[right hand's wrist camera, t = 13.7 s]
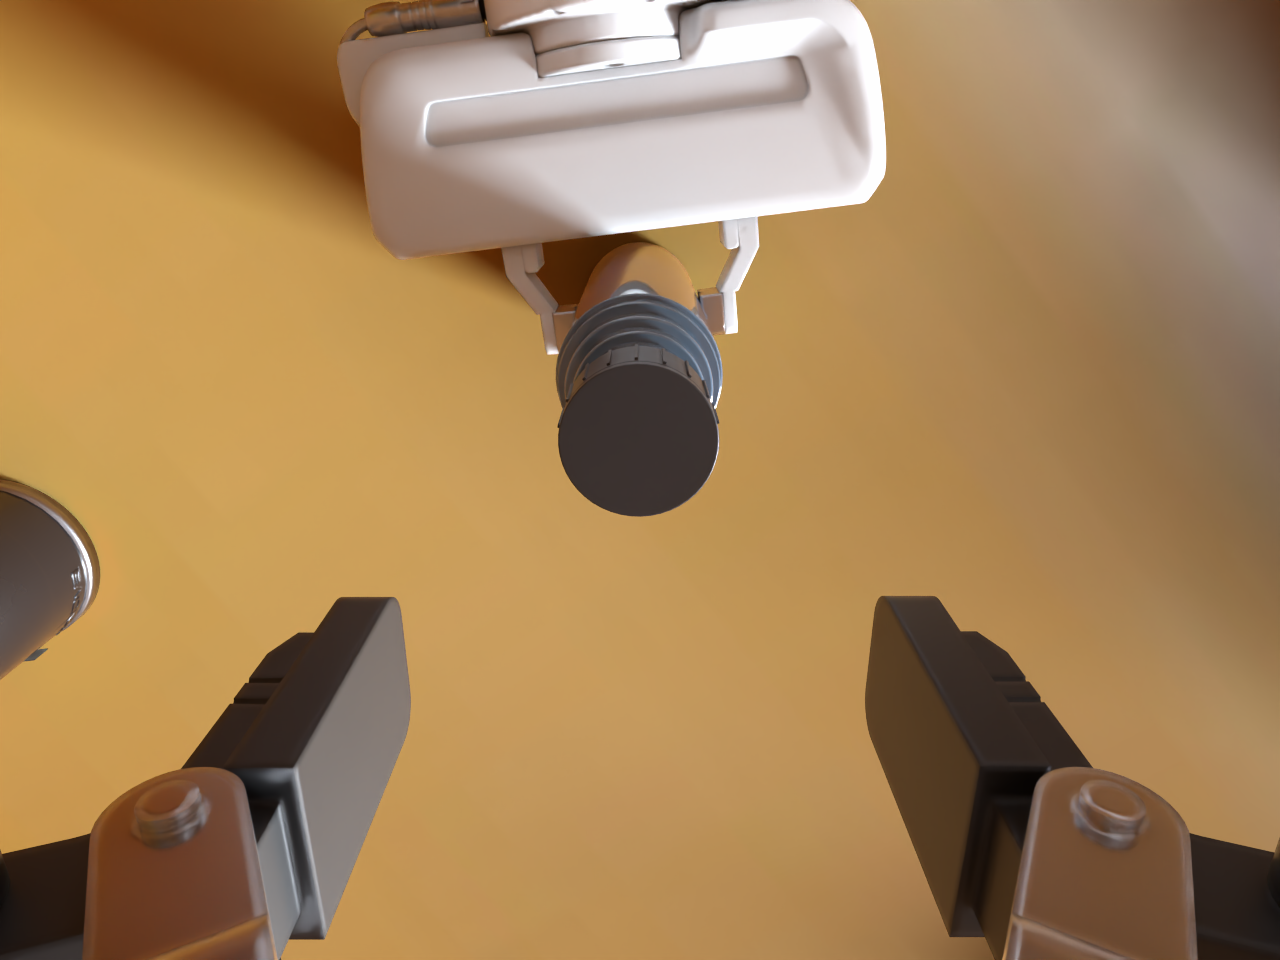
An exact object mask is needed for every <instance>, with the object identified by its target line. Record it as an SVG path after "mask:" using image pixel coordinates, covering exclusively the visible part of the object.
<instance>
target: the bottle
mask: <svg viewBox="0 0 1280 960" xmlns="http://www.w3.org/2000/svg"><path fill="white" fill-rule="evenodd" d="M635 344H638V346H648V347H654V348H658V349H662V348H665V351H667V352H669V353H672V354H674V355H676V356H677V357H679V358H681V359H682V360H684V361H686V360H687V361H688V362H689V365H690V366H691V367H692V368H693V369H694V371H695V372H696V373H697V374H698V375H699V377H700V378H701V380H705V382H706V385H707V389H708V392H709V396H710V400H711V403H712V404H714V406H715V409H716V406H717V403H718V400H719V397H720V392H721V388H722V377H723V373H722V362H721V357H720V353H719V350H718V347H717V344H716V342H715V339H714V337H713V334H712V332H711V329H710V327H709V324H708V322H707V319H706V317H705V314H704V312H703V309H702V307H701V304H700V302H699V299H698V297H697V295H696V292H695V290H694V287H693V285H692V282H691V280H690V277H689V275H688V273H687V271H686V269H685V267H684V266H683V264H682V263H681V262H680V261H679V260H678V258H677V257H676V256H674V255H673V254H672V253H671V252H669V251H668V250H666V249H664V248H662V247H660V246H657V245H654V244H650V243H641V242H637V243H629V244H625V245H622V246H619V247H617V248H615V249H613V250H612V251H610V252H609V253H607V254H606V255H605V256H604V257H603V258H602V259H601V260H600V261H599V262H598V264H597V265H596V266H595V268H594V270H593V271H592V274H591V276H590V278H589V281H588V283H587V285H586V288H585V290H584V293H583V295H582V297H581V300H580V302H579V304H578V307H577V309H576V312H575V314H574V316H573V319H572V321H571V323H570V326H569V328H568V331H567V333H566V335H565V338H564V340H563V343H562V345H561V347H560V350H559V354H558V358H557V364H556V385H557V392H558V395H559V399H560V402H561V405H562V408H565V405H566V402H565V400H566V397H567V394H568V391H569V387H570V385H571V383H572V384H574V382H575V381H576V379H577V377H578V376H579V375H580V374H581V372H582V371H583V370H584V369H585V366H586V364H587V363H589V364H590V363H591V362H593V361H594V360H596V359H597V358H598V357H600V356H602V355H604V354H606V353H608V350H610V349H612V351H613V350H616V349H620V348H624V347H631V346H635Z"/></svg>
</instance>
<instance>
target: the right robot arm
mask: <svg viewBox="0 0 1280 960" xmlns="http://www.w3.org/2000/svg"><path fill="white" fill-rule="evenodd" d="M99 583H100V567H99V561H98V557H97V553H96V550H95V548H94V545H93V543H92V541H91V539H90V537H89V536H88V534H87V532H86V531H85V529H84V528H83V527H82V525H81V524H80V523H79V522H78V520H77V519H76V518H75V517H74V516H73V515H72V514H71V513H70V512H69V511H68V510H67V509H66V508H64V507H63V506H62V505H61V504H59V503H58V502H57V501H55V500H54V499H52V498H51V497H49V496H48V495H46V494H44V493H42V492H40V491H38V490H36V489H34V488H31V487H29V486H26V485H23V484H20V483H16V482H13V481H7V480H0V680H1V679H2V678H3V677H5V676H6V675H7V674H8V673H10V672H11V671H12V670H13V669H14V668H16V667H17V666H18V665H19V664H21V663H22V662H23V661H31V660H35V659H36V658H38V657H39V656H40V655H41V654H42V653H44V652H45V651H46V650H47V649H39V648H40V647H41V646H43V645H44V644H45V643H46V642H48V641H49V640H50V639H51V638H53V637H54V636H55V635H58V634H59V633H60V632H61V631H63V630H65V629H66V628H68V627H69V626H70V625H71V624H73V623H74V622H75V621H76V620H77V619H79V618H80V617H81V616H82V615H83V614H84V613H85V612H86V611H87V610H88V609H89V608H90V606H91V605H92V603H93V601H94V599H95V597H96V595H97V592H98V588H99ZM38 649H39V650H38ZM410 707H411V696H410V685H409V676H408V668H407V659H406V650H405V642H404V633H403V624H402V616H401V610H400V606H399V603H398V601H397V599H396V598H394V597H341V598H339V599H337V601H336V602H335V603H334V605H333V606H332V608H331V609H330V611H329V612H328V613H327V615H326V616H325V618H324V619H323V621H322V622H321V624H320V625H319V627H318V628H317V630H316V631H315V632H314V633H297V634H296V635H294V636H293V637H291V638H290V639H288V640H287V641H286V642H284V643H283V644H281V645H280V646H278V647H277V648H275V649H274V650H272V651H271V652H269V653H268V654H267V655H266V656H265V658H264V659H263V660H262V662H261V663H260V664H259V666H258V667H257V668H256V670H255V671H254V672H253V674H252V675H251V676H250V678H249V683H245V684H244V686H243V687H242V688H241V690H240V691H239V692H238V694H237V695H236V696H235V698H234V703H233V704H229V706H228V707H227V708H226V710H225V711H224V712H223V714H222V715H221V716H220V718H219V719H218V720H217V722H216V723H215V724H214V726H213V727H212V728H211V730H210V731H209V732H208V734H207V735H206V736H205V738H204V739H203V740H202V742H201V743H200V744H199V746H198V747H197V748H196V750H195V751H194V752H193V754H192V755H191V756H190V758H189V759H188V760H187V762H186V763H185V764H184V766H183V767H182V768H181V769H180V770H176V771H172V772H168V773H165V774H162V775H159V776H156V777H154V778H152V779H149V780H147V781H145V782H143V783H141V784H139V785H137V786H135V787H133V788H132V789H130V790H128V791H127V792H126V793H124V794H123V795H121V796H120V797H118V798H117V799H116V800H115V801H114V802H112V803H111V804H110V805H109V806H108V807H107V808H106V809H105V810H104V811H103V812H102V814H101V815H100V816H99V818H98V819H97V821H96V822H95V824H94V826H93V828H92V830H91V833H90V834H87V835H83V836H79V837H76V838H72V839H68V840H63V841H59V842H54V843H50V844H45V845H41V846H36V847H32V848H27V849H23V850H18V851H14V852H9V853H5V854H2V853H1V851H0V960H281V955H282V953H283V951H284V948H285V946H286V944H287V942H288V940H289V939H325V936H326V934H327V931H328V929H329V927H330V924H331V922H332V919H333V917H334V914H335V912H336V909H337V907H338V904H339V902H340V899H341V897H342V894H343V892H344V889H345V887H346V884H347V882H348V879H349V877H350V874H351V872H352V869H353V867H354V865H355V862H356V860H357V857H358V855H359V852H360V850H361V847H362V845H363V842H364V840H365V837H366V835H367V832H368V830H369V827H370V825H371V822H372V820H373V817H374V815H375V812H376V810H377V808H378V805H379V803H380V800H381V798H382V795H383V793H384V790H385V788H386V785H387V783H388V780H389V778H390V775H391V773H392V770H393V768H394V765H395V763H396V760H397V758H398V755H399V753H400V750H401V748H402V746H403V743H404V741H405V738H406V734H407V730H408V726H409V719H410ZM865 709H866V719H867V725H868V730H869V734H870V737H871V740H872V742H873V745H874V748H875V750H876V753H877V755H878V758H879V760H880V763H881V765H882V768H883V770H884V773H885V775H886V778H887V780H888V783H889V785H890V788H891V790H892V793H893V795H894V798H895V800H896V803H897V805H898V808H899V810H900V813H901V816H902V818H903V821H904V823H905V826H906V828H907V831H908V833H909V836H910V838H911V841H912V843H913V846H914V848H915V851H916V853H917V856H918V858H919V861H920V863H921V866H922V868H923V871H924V873H925V876H926V878H927V881H928V884H929V886H930V889H931V891H932V894H933V896H934V899H935V901H936V904H937V906H938V909H939V911H940V914H941V916H942V919H943V921H944V924H945V926H946V929H947V931H948V934H949V936H950V937H985V938H986V940H987V943H988V945H989V947H990V949H991V952H992V954H993V956H994V958H995V960H1280V839H1279V842H1278V844H1277V847H1276V850H1275V853H1274V852H1269V851H1265V850H1260V849H1256V848H1251V847H1247V846H1242V845H1238V844H1233V843H1229V842H1224V841H1220V840H1216V839H1211V838H1207V837H1202V836H1198V835H1194V834H1191V833H1189V830H1188V828H1187V826H1186V824H1185V822H1184V821H1183V819H1182V818H1181V816H1180V815H1179V814H1178V812H1177V811H1176V810H1175V809H1174V808H1173V807H1172V806H1171V805H1170V804H1169V803H1168V802H1166V801H1165V800H1164V799H1163V798H1162V797H1160V796H1159V795H1157V794H1156V793H1154V792H1153V791H1151V790H1150V789H1148V788H1147V787H1145V786H1143V785H1141V784H1139V783H1137V782H1135V781H1133V780H1131V779H1128V778H1126V777H1124V776H1121V775H1118V774H1115V773H1112V772H1108V771H1104V770H1100V769H1094V768H1093V767H1092V766H1091V765H1090V763H1089V762H1088V761H1087V759H1086V758H1085V756H1084V755H1083V754H1082V752H1081V751H1080V750H1079V748H1078V747H1077V746H1076V744H1075V743H1074V742H1073V740H1072V739H1071V738H1070V736H1069V735H1068V734H1067V732H1066V731H1065V730H1064V728H1063V727H1062V725H1061V724H1060V723H1059V721H1058V720H1057V719H1056V717H1055V716H1054V715H1053V713H1052V712H1051V711H1050V709H1049V708H1048V707H1047V705H1046V704H1045V703H1044V702H1041V700H1040V696H1039V694H1038V693H1037V692H1036V690H1035V689H1034V688H1033V686H1032V685H1031V684H1030V682H1026V680H1025V676H1024V674H1023V673H1022V671H1021V670H1020V669H1019V667H1018V666H1017V665H1016V663H1015V662H1014V661H1013V659H1012V658H1011V657H1010V655H1009V654H1008V653H1007V652H1006V651H1005V650H1003V649H1002V648H1000V647H999V646H997V645H996V644H994V643H993V642H991V641H990V640H988V639H987V638H985V637H984V636H983V635H981V634H980V633H978V632H977V631H960V630H959V628H958V627H957V625H956V624H955V623H954V621H953V620H952V618H951V617H950V615H949V614H948V612H947V611H946V609H945V608H944V606H943V605H942V603H941V602H940V600H939V599H938V598H937V597H935V596H881V597H880V598H879V599H878V601H877V604H876V607H875V612H874V621H873V629H872V638H871V647H870V656H869V665H868V673H867V682H866V692H865Z"/></svg>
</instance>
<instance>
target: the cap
mask: <svg viewBox="0 0 1280 960" xmlns="http://www.w3.org/2000/svg"><path fill="white" fill-rule="evenodd" d="M565 402H566V405H565V408H563V410H562V413H561V416H560V420H559V423H558V428H559V434H558V446H559V453H560V458H561V461H562V465H563V467H564V469H565V472H566V474H567V475H568V477H569V479H570V480H571V482H572V483H573V485H574V486H575V487H576V488H577V490H578V491H579V492H580V493H581V494H582V495H583V496H584V497H586V498H587V499H588V500H590V501H591V502H592V503H594V504H596V505H597V506H599V507H601V508H603V509H606V510H608V511H610V512H614V513H617V514H621V515H627V516H651V515H656V514H661V513H664V512H667V511H670V510H672V509H674V508H676V507H678V506H680V505H682V504H683V503H685V502H686V501H688V500H689V499H690V498H692V497H693V496H694V495H695V494H696V493H697V492H698V491H699V490H700V489H701V488H702V487H703V485H704V484H705V482H706V481H707V480H708V478H709V476H710V474H711V472H712V470H713V468H714V465H715V462H716V459H717V455H718V450H719V430H718V425H717V424H719V420H718V416H717V413H716V409H715V406H714V404H712V403H711V400H710V396H709V392H708V389H707V385H706V382H705V380H701V378H700V377H699V375H698V374H697V373H696V372H695V371H694V369H693V368H692V367H691V366H690V365H689V362H688V361H687V360H686V361H684V360H682V359H681V358H679V357H677V356H676V355H674V354H672V353H669V352H667V351H665V348H662V349H658V348H654V347H648V346H638V344H635V346H631V347H624V348H620V349H616V350H613V351H612V349H610V350H608V353H606V354H604V355H602V356H600V357H598V358H597V359H596V360H594V361H593V362H591V363H590V364H589V363H587V364H586V366H585V369H584V370H583V371H582V372H581V374H580V375H579V376H578V377H577V379H576V381H575V382H574V384H572V383H571V385H570V387H569V391H568V394H567V397H566V400H565Z"/></svg>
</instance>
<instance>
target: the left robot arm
mask: <svg viewBox="0 0 1280 960" xmlns="http://www.w3.org/2000/svg"><path fill="white" fill-rule="evenodd" d="M485 20H486V21H487V25H486V24H485ZM487 26H488V28H487ZM424 29H425V30H427V31H419V32H412V31H417V30H424ZM431 29H432V30H431ZM366 30H368V31H369V33H370V34H371V35H372V36H375V38H368V39H360V40H355V39H356V38H357V37H358V36H359V35H360V34H361V33H363V32H364V31H366ZM407 32H412V33H407ZM488 32H489V34H490V36H491V37H489V34H488ZM337 65H338V71H339V75H340V80H341V84H342V89H343V93H344V98H345V102H346V105H347V108H348V111H349V113H350V115H351V116H352V118H353V119H354V121H355V122H356V123H357V125H358V126H359V127H360V136H361V153H362V164H363V174H364V182H365V190H366V198H367V204H368V210H369V216H370V222H371V227H372V231H373V234H374V236H375V238H376V240H377V241H378V242H379V243H380V244H381V245H382V246H383V247H384V248H385V249H387V250H388V251H389V252H390V253H391V254H392V255H393V256H394V257H396V258H397V259H401V260H404V259H413V258H421V257H429V256H437V255H446V254H454V253H462V252H470V251H478V250H486V249H494V248H501V249H502V255H503V260H504V266H505V272H506V277H507V278H508V279H509V281H510V282H511V283H512V284H513V286H514V287H515V288H516V289H517V291H518V292H519V293H520V294H521V296H522V297H523V298H524V299H525V301H526V302H527V303H528V304H529V305H530V307H531V308H532V309H533V310H534V312H535V313H536V314H537V315H538V314H540V318H541V325H542V331H543V337H544V343H545V349H546V352H547V354H548V355H549V354H559V350H560V347H561V345H562V343H563V340H564V338H565V335H566V333H567V331H568V328H569V326H570V323H571V321H572V319H573V316H574V314H575V312H576V309H577V307H578V305H577V304H573V305H562V306H559V304H558V303H557V302H556V300H555V299H554V298H553V296H552V295H551V294H550V292H549V291H548V290H547V288H546V287H545V286H544V284H543V283H542V282H541V280H540V279H539V278H538V276H537V275H536V274H535V272H538V270H539V269H540V268H541V267H542V266H543V265H544V256H543V249H542V243H543V242H551V241H559V240H568V239H576V238H584V237H592V236H600V235H608V234H616V233H625V232H633V231H641V230H649V229H657V228H665V227H673V226H681V225H690V224H698V223H706V222H714V221H718V223H719V234H720V242H721V243H722V244H723V245H724V246H725V247H726V248H727V249H732V250H731V252H730V255H729V257H728V259H727V261H726V264H725V266H724V268H723V270H722V273H721V275H720V277H719V279H718V282H717V284H716V287H713V288H706V289H699V290H697V292H698V299H699V302H700V304H701V307H702V309H703V312H704V314H705V317H706V319H707V322H708V324H709V327H710V329H711V332H712V334H713V335H721V334H725V333H726V334H729V333H737V312H736V299H735V291H738V290H739V287H740V285H741V283H742V281H743V279H744V277H745V275H746V273H747V271H748V268H749V266H750V264H751V262H752V260H753V258H754V256H755V254H756V252H757V250H758V247H759V237H758V220H757V216H763V215H771V214H779V213H787V212H795V211H803V210H812V209H820V208H828V207H836V206H844V205H852V204H860V203H864V202H866V201H867V200H868V199H869V198H870V197H871V195H872V194H873V192H874V191H875V190H876V188H877V187H878V185H879V183H880V182H881V180H882V179H883V177H884V174H885V169H886V143H885V126H884V114H883V104H882V95H881V86H880V79H879V73H878V66H877V60H876V54H875V49H874V44H873V40H872V37H871V33H870V30H869V28H868V25H867V23H866V21H865V19H864V17H863V15H862V14H861V12H860V11H859V10H858V8H857V7H856V6H855V5H854V4H853V3H852V2H851V1H849V0H420V1H419V2H418V1H415V2H412V3H411V2H408V3H401V4H400V2H385V3H380V4H376V5H373V6H370V7H368V8H366V9H365V18H362V19H360V20H358V21H357V22H355V23H354V24H352V25H351V26H350V27H349V28H348V29H347V31H346V32H345V34H344V35H343V37H342V39H341V41H340V44H339V47H338V52H337Z"/></svg>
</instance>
